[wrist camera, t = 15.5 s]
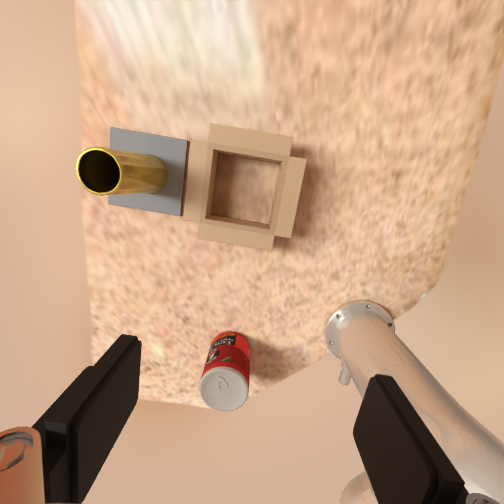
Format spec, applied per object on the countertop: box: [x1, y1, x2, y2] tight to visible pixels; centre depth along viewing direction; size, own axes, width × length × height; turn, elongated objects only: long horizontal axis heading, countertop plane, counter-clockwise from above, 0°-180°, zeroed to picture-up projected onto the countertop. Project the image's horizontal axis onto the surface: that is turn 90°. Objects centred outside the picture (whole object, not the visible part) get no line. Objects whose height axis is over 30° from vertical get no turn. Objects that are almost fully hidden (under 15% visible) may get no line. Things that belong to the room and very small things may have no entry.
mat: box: [108, 127, 188, 216], centre depth 44 cm, size 12×12×1 cm
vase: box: [76, 147, 167, 196], centre depth 36 cm, size 6×6×14 cm
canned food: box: [199, 331, 250, 411], centre depth 47 cm, size 8×8×11 cm
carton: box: [183, 123, 307, 251], centre depth 42 cm, size 17×17×5 cm
